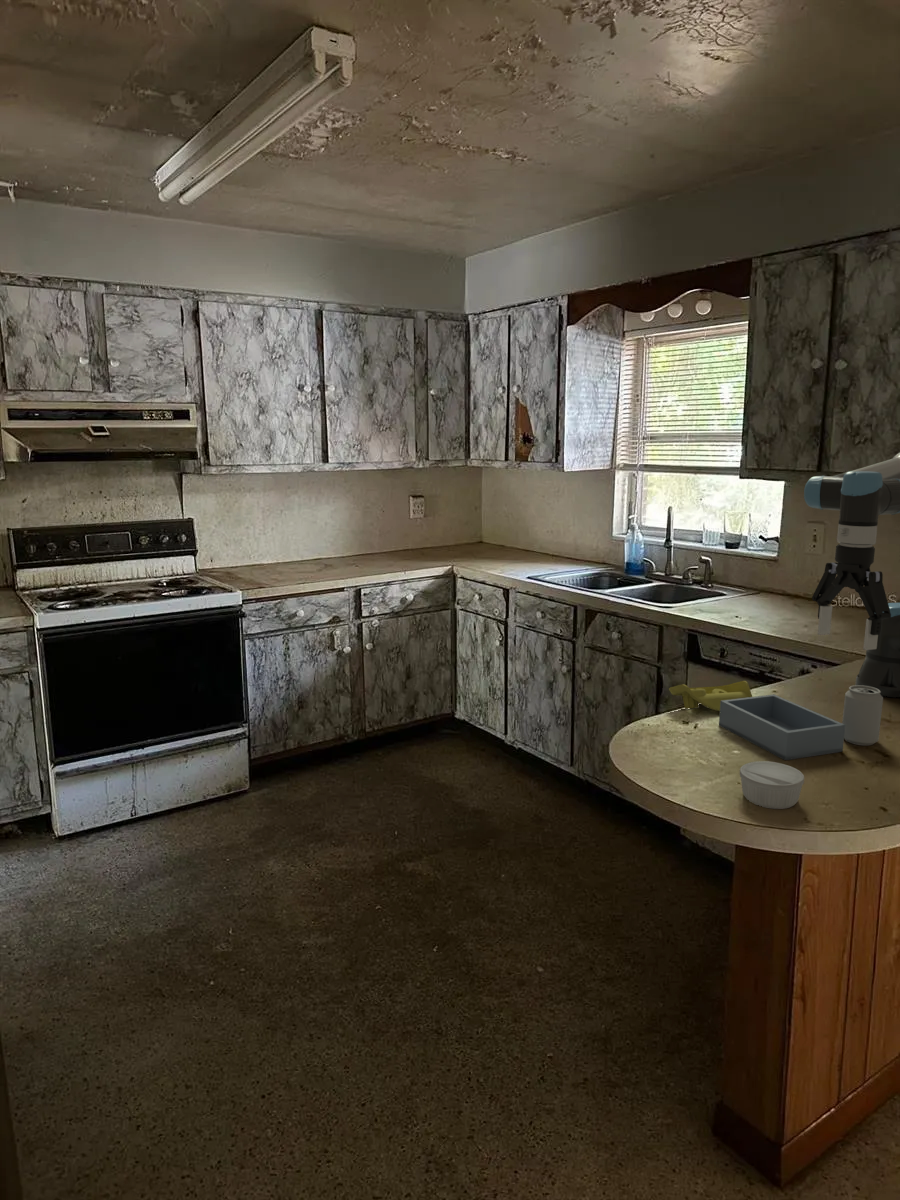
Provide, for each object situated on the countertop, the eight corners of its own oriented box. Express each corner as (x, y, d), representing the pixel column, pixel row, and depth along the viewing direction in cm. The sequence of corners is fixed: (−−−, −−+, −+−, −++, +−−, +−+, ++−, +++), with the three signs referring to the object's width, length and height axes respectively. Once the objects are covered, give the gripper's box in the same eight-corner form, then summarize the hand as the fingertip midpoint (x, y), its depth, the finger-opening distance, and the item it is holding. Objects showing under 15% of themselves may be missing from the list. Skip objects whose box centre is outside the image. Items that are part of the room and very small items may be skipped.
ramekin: (741, 809, 152) (744, 782, 150) (734, 784, 162) (736, 758, 161) (807, 815, 149) (810, 787, 148) (795, 789, 160) (798, 763, 159)
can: (886, 744, 183) (892, 692, 180) (857, 748, 180) (863, 695, 178) (860, 733, 190) (866, 682, 187) (833, 736, 187) (838, 685, 185)
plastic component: (722, 686, 216) (750, 679, 208) (728, 714, 215) (756, 708, 206) (660, 689, 208) (686, 682, 199) (666, 719, 206) (692, 713, 198)
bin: (771, 718, 199) (774, 694, 198) (842, 751, 179) (845, 724, 177) (718, 725, 194) (720, 700, 193) (785, 760, 174) (787, 732, 172)
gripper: (800, 538, 189) (792, 629, 193) (887, 553, 166) (876, 657, 170) (828, 536, 191) (819, 627, 195) (917, 552, 168) (905, 654, 172)
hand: (845, 641), depth 183 cm, fingers open, 13 cm apart
